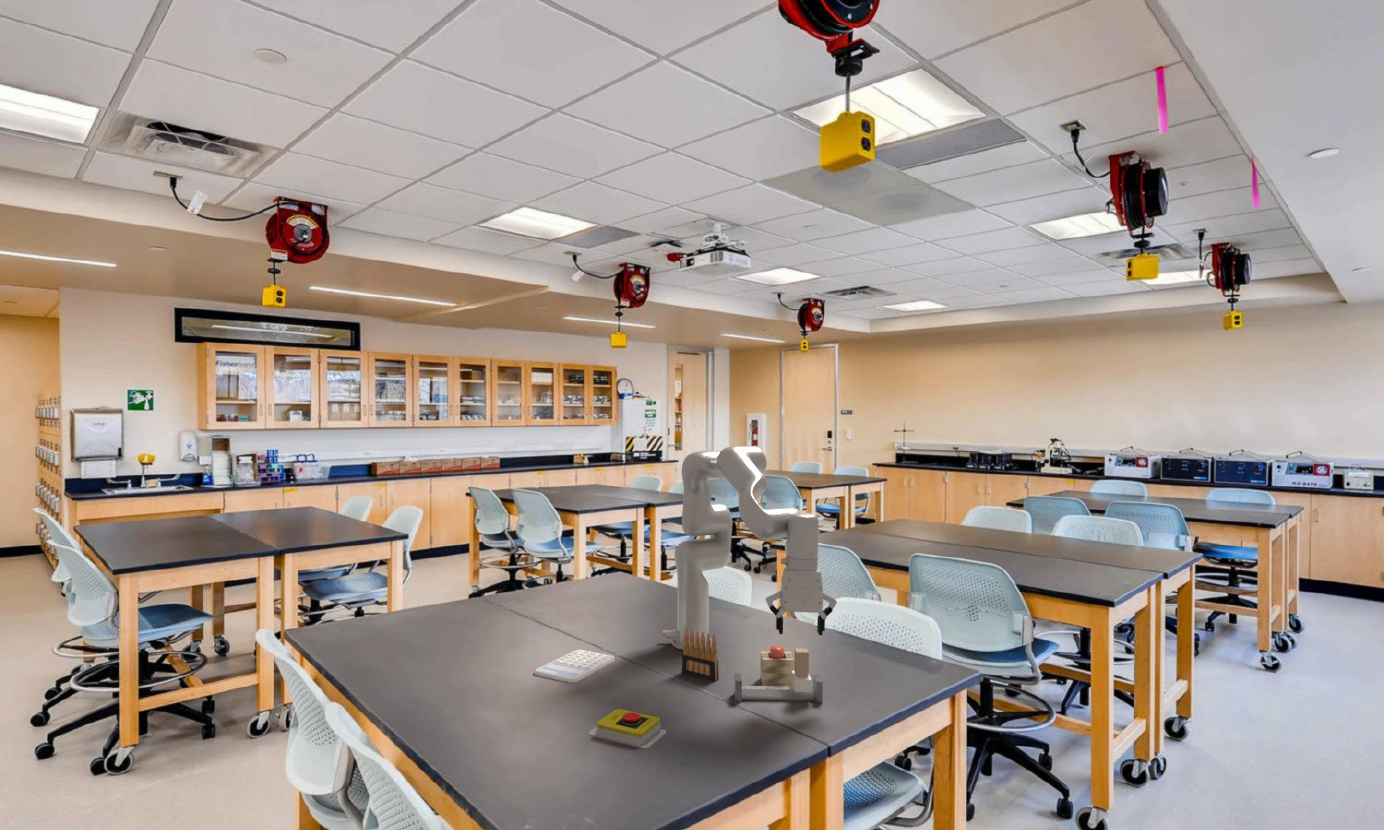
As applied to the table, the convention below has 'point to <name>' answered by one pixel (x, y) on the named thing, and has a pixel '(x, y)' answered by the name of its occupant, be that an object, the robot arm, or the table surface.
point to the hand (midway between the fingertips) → (800, 633)
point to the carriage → (801, 671)
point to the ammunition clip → (700, 657)
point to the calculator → (574, 666)
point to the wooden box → (776, 670)
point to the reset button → (777, 652)
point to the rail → (777, 691)
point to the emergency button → (629, 728)
